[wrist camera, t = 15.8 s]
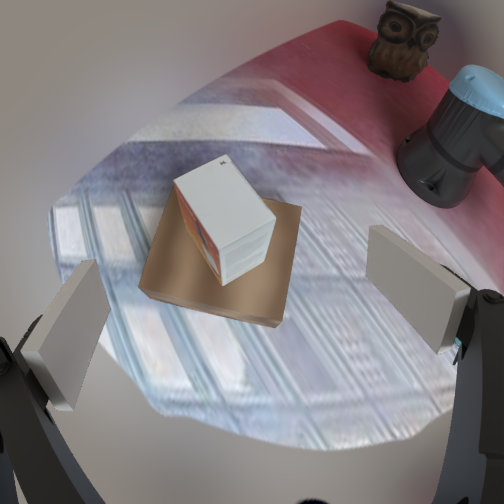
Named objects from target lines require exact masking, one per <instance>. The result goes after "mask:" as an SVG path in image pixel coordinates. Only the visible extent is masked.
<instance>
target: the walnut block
mask: <svg viewBox="0 0 504 504" xmlns="http://www.w3.org/2000/svg"><path fill="white" fill-rule="evenodd" d="M261 199H262V201H263V202H264V203H265V204H266V205H267V207H268V208H269V209H270V210H271V211H272V213H273V214H274V215H275V216H276V222H275V225H274V229H273V232H272V236H271V239H270V243H269V246H268V249H267V253H266V256H265V260H264V262H262V263H261V264H259V265H258V266H256V267H254V268H253V269H251V270H249V271H248V272H246V273H244V274H243V275H241V276H239V277H238V278H236V279H234V280H233V281H231V282H229V283H228V284H226V285H224V286H221V284H220V283H219V281H218V280H217V278H216V276H215V275H214V273H213V272H212V270H211V269H210V267H209V265H208V264H207V262H206V261H205V259H204V257H203V256H202V254H201V252H200V251H199V249H198V248H197V246H196V245H195V243H194V242H193V240H192V239H191V237H190V236H189V234H188V233H187V231H186V227H185V224H184V220H183V217H182V213H181V209H180V206H179V202H178V198H177V194H176V190H175V187H174V186H173V188H172V191H171V193H170V196H169V199H168V201H167V204H166V207H165V209H164V212H163V215H162V217H161V220H160V223H159V226H158V228H157V231H156V234H155V237H154V240H153V243H152V245H151V248H150V251H149V254H148V257H147V260H146V263H145V266H144V270H143V273H142V276H141V279H140V282H139V285H138V287H139V288H140V289H141V290H142V291H143V292H144V293H145V294H146V295H147V296H148V297H149V298H150V299H154V300H157V301H161V302H165V303H169V304H172V305H176V306H180V307H184V308H188V309H192V310H196V311H200V312H205V313H209V314H213V315H217V316H221V317H226V318H230V319H235V320H239V321H244V322H248V323H253V324H258V325H262V326H267V327H272V328H276V327H277V326H278V325H279V324H280V323H281V322H282V319H283V313H284V308H285V303H286V297H287V292H288V287H289V281H290V275H291V270H292V264H293V258H294V252H295V247H296V241H297V234H298V228H299V222H300V216H301V210H302V207H301V206H297V205H292V204H288V203H283V202H279V201H274V200H269V199H265V198H261Z"/></svg>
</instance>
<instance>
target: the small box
mask: <svg viewBox="0 0 504 504" xmlns="http://www.w3.org/2000/svg"><path fill="white" fill-rule="evenodd" d="M173 183H174V187H175V190H176V194H177V198H178V202H179V206H180V209H181V213H182V217H183V220H184V224H185V227H186V231H187V233H188V234H189V236H190V237H191V239H192V240H193V242H194V243H195V245H196V246H197V248H198V249H199V251H200V252H201V254H202V256H203V257H204V259H205V261H206V262H207V264H208V265H209V267H210V269H211V270H212V272H213V273H214V275H215V276H216V278H217V280H218V281H219V283H220V284H221V286H224V285H226V284H228V283H229V282H231V281H233V280H234V279H236V278H238V277H239V276H241V275H243V274H244V273H246V272H248V271H249V270H251V269H253V268H254V267H256V266H258V265H259V264H261V263H262V262H264V260H265V256H266V253H267V249H268V246H269V243H270V239H271V236H272V232H273V229H274V225H275V222H276V216H275V215H274V214H273V213H272V211H271V210H270V209H269V208H268V207H267V205H266V204H265V203H264V202H263V201H262V199H261V198H260V197H259V195H258V194H257V193H256V192H255V190H254V189H253V188H252V186H251V185H250V184H249V183H248V181H247V180H246V179H245V178H244V176H243V175H242V174H241V172H240V171H239V170H238V168H237V167H236V166H235V164H234V163H233V162H232V160H231V159H230V157H229V156H228V155H227V154H225V155H223V156H221V157H219V158H216V159H214V160H212V161H210V162H208V163H206V164H204V165H202V166H200V167H198V168H196V169H194V170H192V171H190V172H188V173H186V174H184V175H182V176H180V177H178V178H176V179H174V180H173Z"/></svg>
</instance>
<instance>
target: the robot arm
mask: <svg viewBox="0 0 504 504" xmlns="http://www.w3.org/2000/svg"><path fill="white" fill-rule="evenodd" d="M397 164H398V167H399V170H400V173H401V175H402V177H403V178H404V180H405V181H406V183H407V184H408V186H409V187H410V188H411V189H412V190H413V191H414V192H415V193H416V194H417V195H418V196H419V197H420V198H422V199H423V200H425V201H426V202H428V203H429V204H431V205H434V206H436V207H439V208H446V209H447V208H453V207H455V206H457V205H458V204H459V203H460V202H462V201H463V200H464V199H465V197H466V196H467V194H468V192H469V189H470V187H471V185H472V183H473V181H474V178H475V176H476V173H477V171H478V170H479V169H480V168H481V167H482V166H483V165H484V166H485V167H486V168H487V169H488V170H489V171H490V172H491V173H492V174H493V175H494V177H495V178H496V179H497V180H498V181H499V182H500V183H501V185H502V186H503V187H504V78H502V77H501V76H499V75H498V74H496V73H495V72H493V71H491V70H489V69H486V68H484V67H481V66H477V65H467V66H464V67H463V68H462V69H461V70H460V71H459V73H458V74H457V76H456V77H455V79H454V80H452V81H451V82H450V84H449V89H448V90H447V92H446V94H445V95H444V97H443V99H442V100H441V102H440V103H439V105H438V106H437V108H436V110H435V111H434V113H433V114H432V116H431V117H430V119H429V120H428V122H427V123H426V124H425V125H424V126H422V127H421V128H419V129H418V130H416V131H415V132H413V133H412V134H410V135H409V136H407V137H406V138H405V139H404V141H403V142H402V144H401V145H400V147H399V149H398V151H397ZM365 276H366V277H367V278H368V279H369V280H370V281H371V282H372V283H373V285H374V286H375V287H376V288H377V289H378V290H379V291H380V292H381V293H382V294H383V295H384V296H385V297H386V298H387V299H388V301H389V302H390V303H391V304H392V305H393V306H394V307H395V308H396V309H397V310H398V311H399V313H400V314H401V315H402V316H403V317H404V318H405V319H406V320H407V321H408V323H409V324H410V325H411V326H412V327H413V328H414V329H415V330H416V332H417V333H418V334H419V335H420V336H421V337H422V338H423V339H424V341H425V342H426V343H427V344H428V345H429V346H430V348H431V349H432V350H433V351H434V352H435V353H436V355H439V354H442V353H444V352H447V351H449V350H451V349H452V347H453V344H454V341H455V338H456V337H457V338H458V339H459V340H460V341H461V344H460V347H459V349H458V352H457V355H456V357H455V360H454V362H453V365H455V364H456V362H457V361H458V366H457V379H456V389H455V399H454V407H453V414H452V421H451V427H450V433H449V439H448V444H447V449H446V454H445V459H444V463H443V468H442V471H441V476H440V479H439V483H438V487H437V491H436V494H435V497H434V500H433V502H432V504H504V296H502V295H501V294H500V293H498V292H496V291H493V290H490V289H483V290H480V291H478V290H477V289H475V288H474V287H473V286H471V285H470V284H469V283H467V282H466V281H465V280H464V279H462V278H460V276H458V275H457V274H456V273H455V274H454V272H453V271H451V270H450V269H449V268H447V267H446V266H444V265H441V264H439V263H437V262H436V261H434V260H433V259H432V258H430V257H429V256H427V255H426V254H425V253H423V252H422V251H420V250H419V249H418V248H416V247H415V246H413V245H412V244H410V243H409V242H407V241H406V240H404V239H403V238H402V237H400V236H399V235H397V234H396V233H394V232H393V231H391V230H390V229H388V228H387V227H385V226H384V225H375V226H369V240H368V253H367V264H366V275H365ZM110 310H111V308H110V305H109V302H108V299H107V296H106V293H105V289H104V286H103V283H102V279H101V276H100V273H99V269H98V265H97V262H96V259H93V260H85V261H81V263H80V264H79V265H78V267H77V268H76V269H75V271H74V272H73V273H72V275H71V276H70V277H69V279H68V280H67V281H66V283H65V284H64V286H63V287H62V288H61V290H60V291H59V293H58V294H57V295H56V297H55V298H54V300H53V301H52V303H51V304H50V305H49V307H48V309H47V310H46V311H45V313H44V314H43V315H41V316H40V317H38V318H37V319H36V320H35V321H34V322H33V323H32V324H31V326H30V327H29V329H28V332H26V333H25V335H24V338H22V340H21V341H20V343H19V344H18V346H17V347H16V349H15V351H14V352H13V353H12V351H11V350H10V348H9V346H8V344H7V342H6V340H5V339H4V338H3V337H0V504H19V503H18V497H17V492H16V486H15V480H14V473H13V470H14V472H15V475H16V477H17V480H18V482H19V485H20V487H21V489H22V492H23V494H24V496H25V498H26V500H27V503H28V504H106V503H105V502H104V501H103V499H102V498H101V497H100V495H99V494H98V492H97V491H96V489H95V488H94V487H93V485H92V484H91V482H90V481H89V479H88V478H87V476H86V475H85V473H84V472H83V470H82V469H81V467H80V465H79V464H78V463H77V461H76V459H75V458H74V456H73V454H72V453H71V451H70V449H69V447H68V446H67V444H66V442H65V440H64V438H63V437H62V435H61V433H60V431H59V429H58V427H57V426H56V424H55V422H54V420H53V418H52V416H51V414H50V412H49V411H48V409H47V408H46V405H47V402H48V400H50V401H51V403H52V404H53V406H54V407H55V409H56V410H64V411H74V408H75V405H76V402H77V399H78V396H79V393H80V390H81V387H82V384H83V381H84V378H85V375H86V372H87V369H88V367H89V364H90V361H91V358H92V355H93V353H94V350H95V348H96V345H97V342H98V340H99V337H100V335H101V332H102V330H103V327H104V325H105V322H106V320H107V317H108V315H109V312H110Z"/></svg>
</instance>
